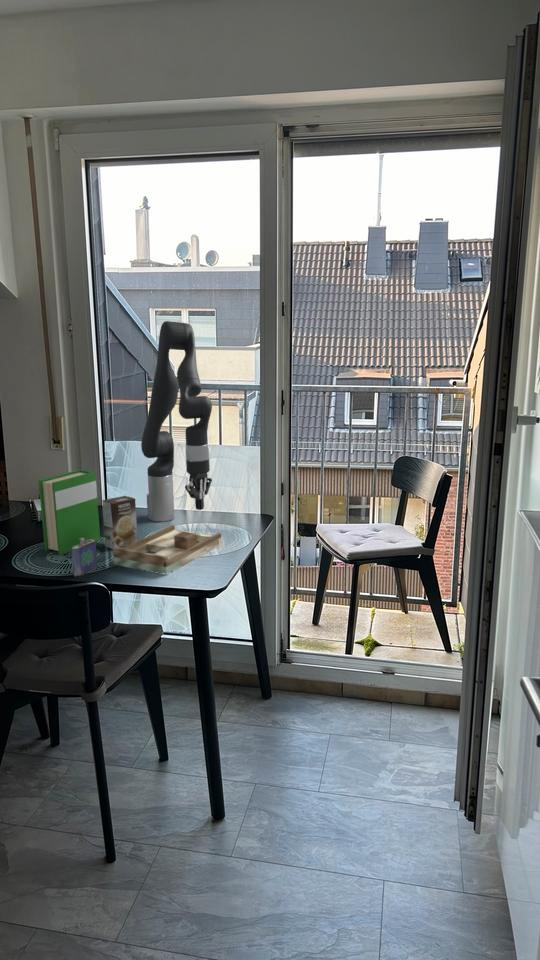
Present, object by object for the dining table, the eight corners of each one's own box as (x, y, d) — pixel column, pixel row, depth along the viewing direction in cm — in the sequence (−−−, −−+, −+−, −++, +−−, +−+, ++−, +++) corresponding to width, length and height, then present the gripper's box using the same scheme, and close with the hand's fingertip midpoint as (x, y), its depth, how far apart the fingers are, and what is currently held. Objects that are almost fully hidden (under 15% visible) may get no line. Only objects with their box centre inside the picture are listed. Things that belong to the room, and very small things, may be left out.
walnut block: (174, 547, 222) (174, 535, 221) (183, 543, 226) (183, 531, 225) (187, 549, 219) (187, 538, 218) (196, 545, 224) (195, 533, 223)
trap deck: (114, 564, 214) (113, 547, 213) (172, 536, 241) (172, 521, 240) (166, 575, 205) (165, 557, 204) (221, 544, 232) (220, 528, 231)
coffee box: (114, 550, 227) (111, 503, 223) (104, 546, 231) (101, 500, 228) (138, 544, 233) (135, 498, 229) (127, 539, 238) (124, 494, 234)
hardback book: (60, 554, 224) (54, 483, 218) (45, 550, 228) (38, 480, 222) (100, 539, 238) (95, 472, 233) (85, 535, 242) (80, 469, 236)
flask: (78, 577, 204) (75, 543, 202) (70, 575, 206) (67, 541, 203) (99, 567, 212) (97, 534, 210) (92, 566, 214) (89, 533, 211)
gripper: (199, 453, 231) (201, 503, 235) (176, 460, 219) (179, 513, 223) (218, 455, 227) (220, 505, 231) (195, 462, 216) (198, 515, 220)
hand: (199, 509), depth 227 cm, fingers closed
